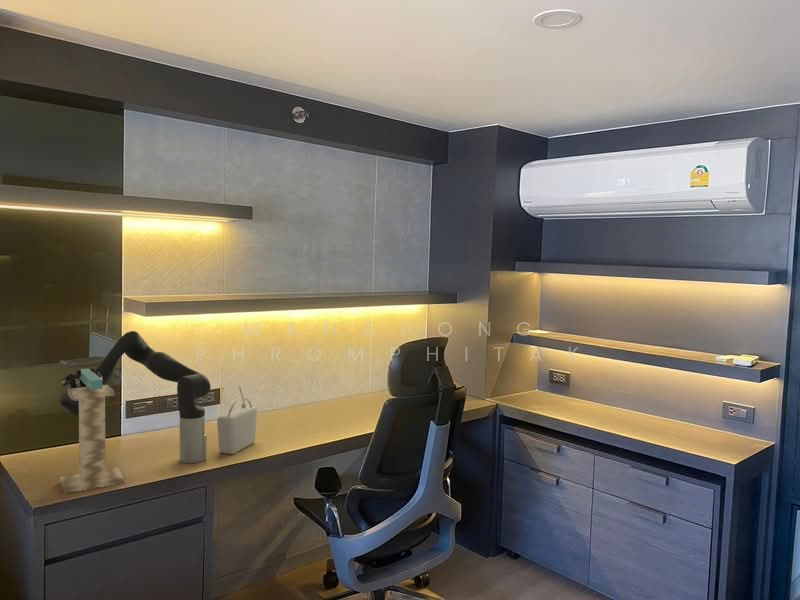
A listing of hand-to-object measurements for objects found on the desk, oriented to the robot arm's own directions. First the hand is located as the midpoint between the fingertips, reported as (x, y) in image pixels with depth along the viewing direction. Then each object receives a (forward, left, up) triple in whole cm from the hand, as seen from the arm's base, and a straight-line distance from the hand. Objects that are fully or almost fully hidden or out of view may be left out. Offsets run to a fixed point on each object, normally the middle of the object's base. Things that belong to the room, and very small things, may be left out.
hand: (86, 371), depth 213 cm
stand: (0, +11, -37) cm, 39 cm away
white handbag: (-56, -1, -37) cm, 67 cm away
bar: (0, +7, -3) cm, 8 cm away
